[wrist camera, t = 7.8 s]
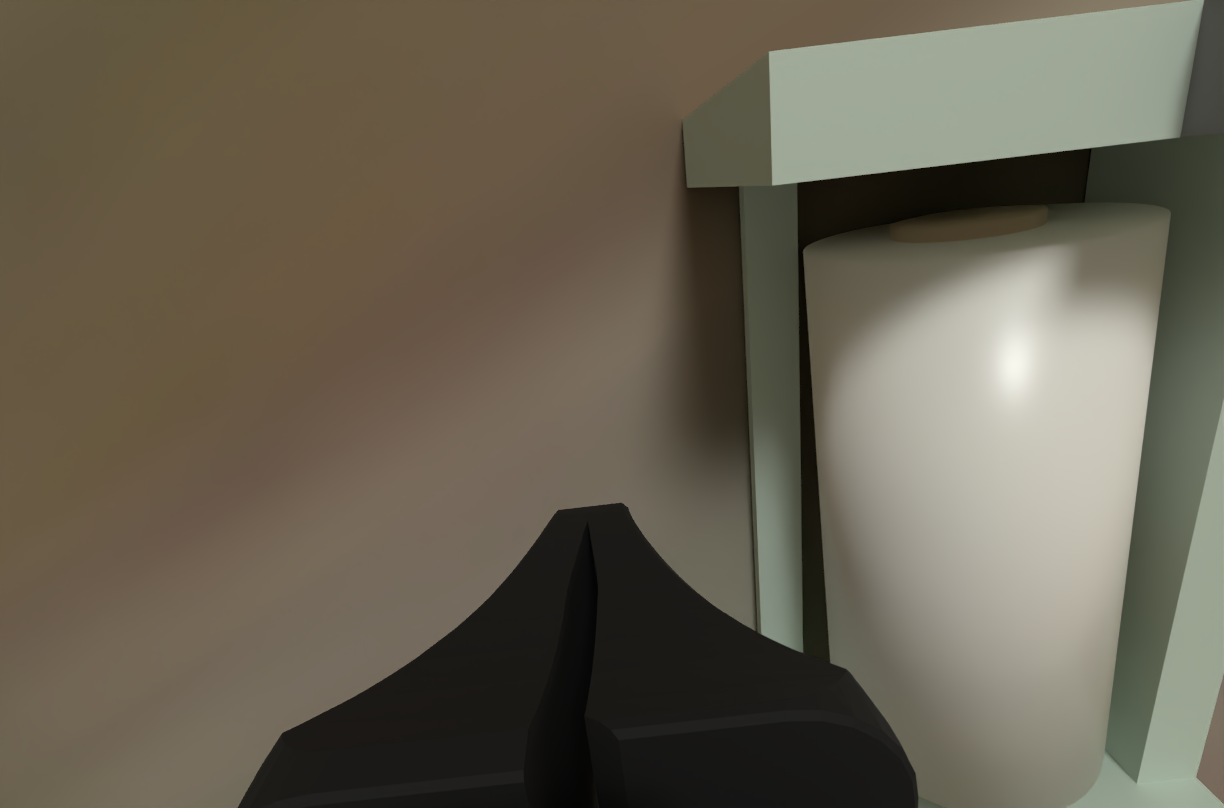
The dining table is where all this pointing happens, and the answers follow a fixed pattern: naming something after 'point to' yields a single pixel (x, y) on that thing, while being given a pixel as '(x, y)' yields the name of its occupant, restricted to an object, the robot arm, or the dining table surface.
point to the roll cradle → (1118, 172)
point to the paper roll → (984, 480)
